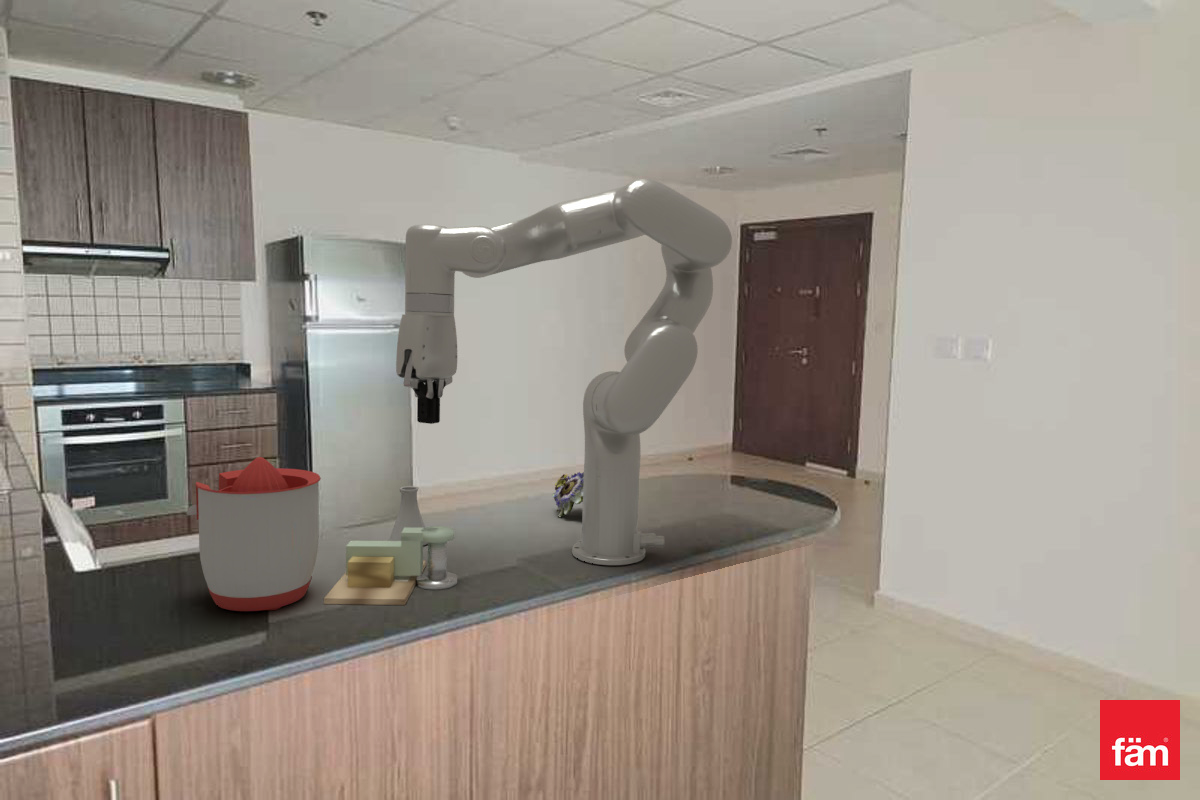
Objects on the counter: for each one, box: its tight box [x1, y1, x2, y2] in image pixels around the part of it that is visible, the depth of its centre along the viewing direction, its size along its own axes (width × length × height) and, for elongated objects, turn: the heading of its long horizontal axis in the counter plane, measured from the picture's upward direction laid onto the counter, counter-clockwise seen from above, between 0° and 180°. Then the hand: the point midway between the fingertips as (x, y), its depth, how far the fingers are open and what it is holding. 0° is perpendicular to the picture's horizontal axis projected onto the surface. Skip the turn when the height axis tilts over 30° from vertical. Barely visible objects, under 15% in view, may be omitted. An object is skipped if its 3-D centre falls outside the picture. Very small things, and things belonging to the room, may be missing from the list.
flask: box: [388, 485, 428, 546], centre depth 133 cm, size 7×7×10 cm
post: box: [416, 542, 458, 591], centre depth 114 cm, size 6×6×7 cm
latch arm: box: [345, 525, 455, 576], centre depth 113 cm, size 15×5×6 cm, turn 95°
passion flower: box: [551, 471, 584, 517], centre depth 156 cm, size 11×11×12 cm
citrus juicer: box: [186, 456, 321, 612], centre depth 104 cm, size 16×17×20 cm
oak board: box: [323, 556, 427, 606], centre depth 113 cm, size 11×17×4 cm, turn 3°
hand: (428, 422), depth 120 cm, fingers closed
